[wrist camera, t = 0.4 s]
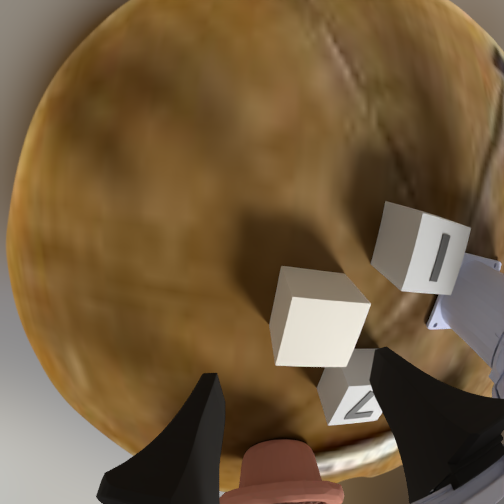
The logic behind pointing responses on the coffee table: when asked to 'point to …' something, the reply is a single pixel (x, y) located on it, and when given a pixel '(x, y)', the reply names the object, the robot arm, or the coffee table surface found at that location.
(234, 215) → the coffee table surface
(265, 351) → the coffee table surface
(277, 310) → the cream block
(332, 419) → the white marked cube 7
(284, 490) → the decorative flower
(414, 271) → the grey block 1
